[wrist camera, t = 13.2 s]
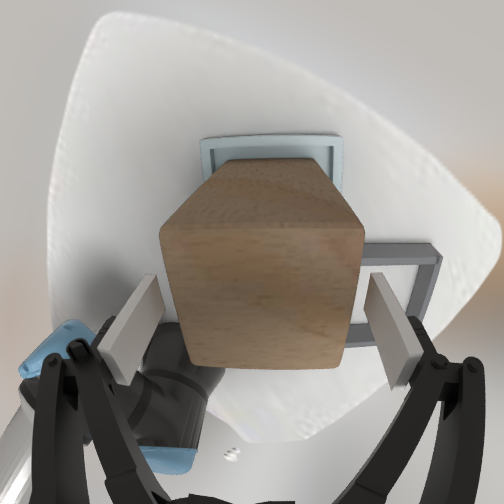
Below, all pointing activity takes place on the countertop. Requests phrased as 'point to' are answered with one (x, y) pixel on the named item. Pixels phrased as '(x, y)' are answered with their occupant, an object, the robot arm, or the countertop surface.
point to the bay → (422, 289)
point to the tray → (275, 151)
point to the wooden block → (264, 266)
